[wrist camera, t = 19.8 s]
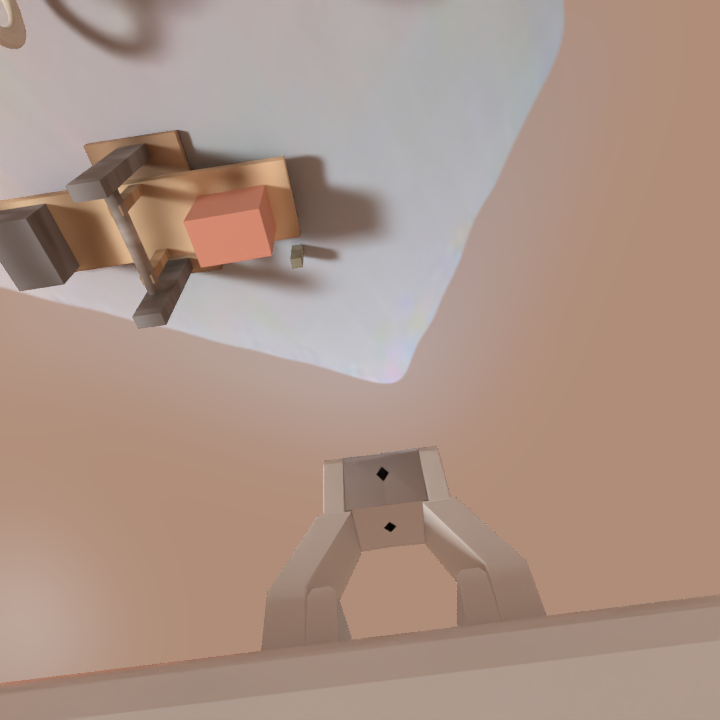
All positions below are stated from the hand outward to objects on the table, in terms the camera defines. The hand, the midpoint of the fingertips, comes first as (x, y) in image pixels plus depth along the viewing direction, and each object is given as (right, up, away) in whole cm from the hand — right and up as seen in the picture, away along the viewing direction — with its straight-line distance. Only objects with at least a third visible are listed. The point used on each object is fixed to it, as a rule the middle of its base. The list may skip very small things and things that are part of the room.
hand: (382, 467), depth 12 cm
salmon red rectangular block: (-12, +16, +30) cm, 36 cm away
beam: (-20, +16, +31) cm, 40 cm away
